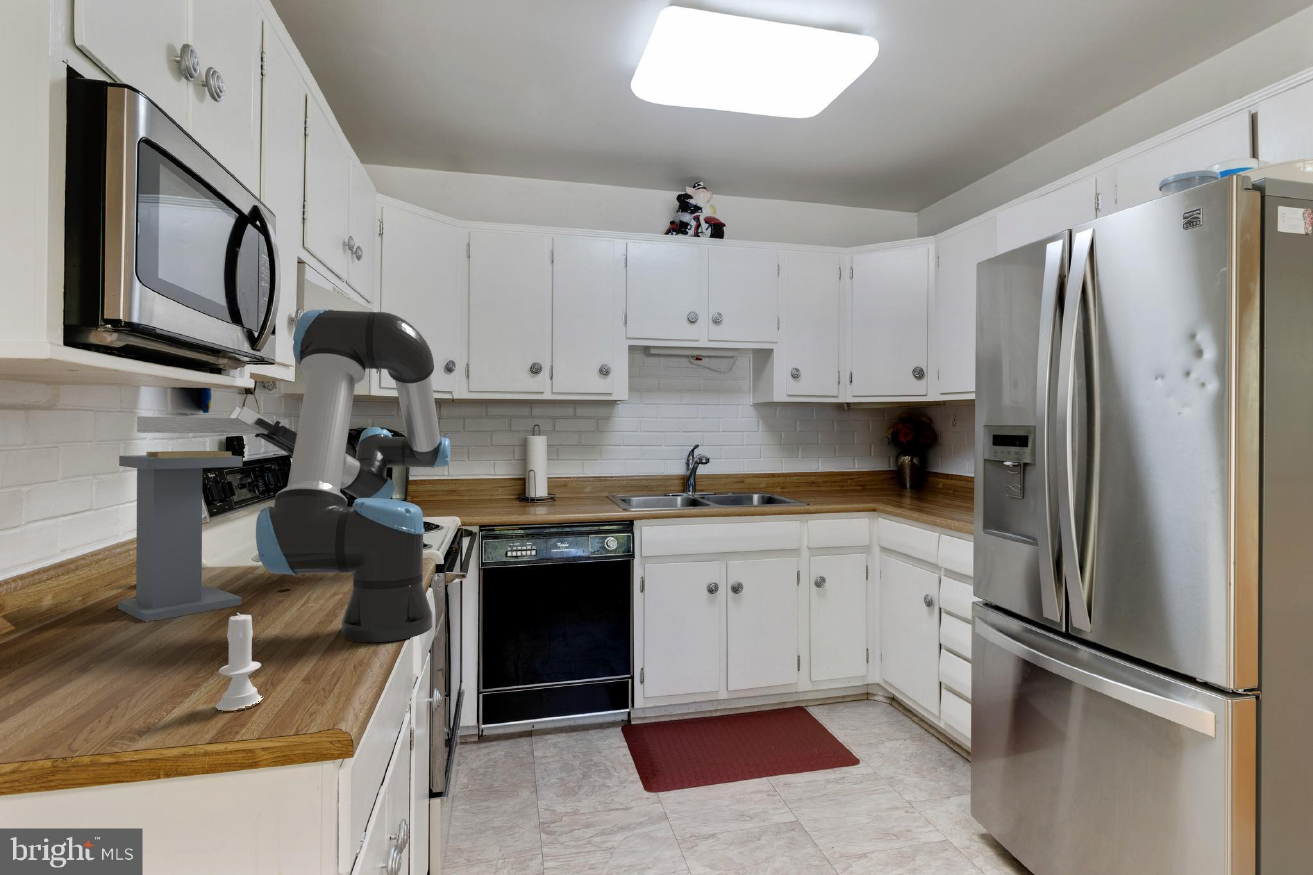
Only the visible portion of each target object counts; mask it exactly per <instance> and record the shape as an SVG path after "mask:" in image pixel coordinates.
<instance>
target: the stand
mask: <svg viewBox="0 0 1313 875" xmlns="http://www.w3.org/2000/svg"><path fill="white" fill-rule="evenodd" d="M118 466H119V467H124V468H130V469H131V468H132V469H133V468H134V469H136V556H135V557H136V574H135V576H136V579H135V581H136V582H135V586H136V587H135V589H136V590H135V592H136V593H135V594H136V595H135V598H130V599H122V600H118V602H117V603H118V605H117V608H118V610H121V611H122V612H124V613H126V614H128V615H130V616H132V617H134V618H136V619H138V620H141V621H142V620H143V621H142V622H144V621H145V622H144V623H151V622H155V621H154V620H157V621H160V620H167V619H171V618H177V617H181V616H182V617H183V616H188V615H195V614H199V613H200V614H201V613H203V612H204V613H205V612H209V611H217V610H221V609H226V608H231V607H236V606H241V605H242V597H241V596H239V595H236V594H233V593H231V592H228V591H225V590H222V589H219V588H216V587H214V586H209V585H208V586H205V587H204V586H203V587H202V584H203V583H202V577H203V576H202V575H203V574H202V571H203V469H207V468H210V469H211V468H232V467H233V468H236V467H239V468H241V467H243V456H239V455H232V457H199V458H158V457H146V454H144V455H143V454H142V455H141V454H140V455H139V454H138V455H137V454H135V455H134V454H133V455H119V457H118ZM150 621H151V622H150Z"/></svg>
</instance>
